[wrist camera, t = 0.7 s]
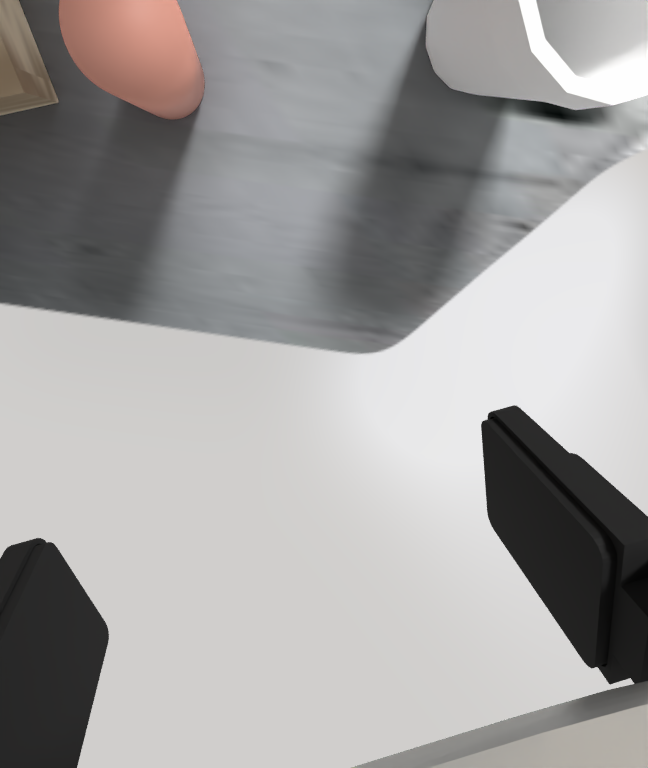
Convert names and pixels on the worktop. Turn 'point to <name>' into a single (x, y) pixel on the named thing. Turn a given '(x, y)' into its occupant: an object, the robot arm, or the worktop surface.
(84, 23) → the peg
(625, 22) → the foam cup
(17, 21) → the box
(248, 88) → the worktop surface
